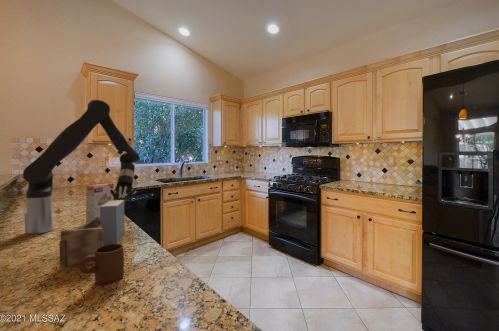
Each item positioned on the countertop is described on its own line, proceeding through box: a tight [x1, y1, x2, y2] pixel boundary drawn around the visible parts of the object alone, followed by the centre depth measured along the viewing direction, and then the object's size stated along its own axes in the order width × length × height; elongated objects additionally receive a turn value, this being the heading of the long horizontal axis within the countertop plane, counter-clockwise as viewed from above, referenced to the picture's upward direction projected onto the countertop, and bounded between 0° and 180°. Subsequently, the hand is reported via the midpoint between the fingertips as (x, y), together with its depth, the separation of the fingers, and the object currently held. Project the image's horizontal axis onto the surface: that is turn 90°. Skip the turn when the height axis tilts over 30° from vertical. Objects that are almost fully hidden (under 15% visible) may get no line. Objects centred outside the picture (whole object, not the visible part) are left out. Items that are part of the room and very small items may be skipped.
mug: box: [77, 243, 125, 285], centre depth 69 cm, size 12×8×9 cm, turn 149°
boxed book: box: [99, 199, 126, 245], centre depth 105 cm, size 6×14×16 cm, turn 16°
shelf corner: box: [58, 217, 104, 269], centre depth 93 cm, size 12×32×12 cm, turn 16°
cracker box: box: [85, 182, 115, 224], centre depth 133 cm, size 14×6×21 cm, turn 168°
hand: (120, 205), depth 117 cm, fingers closed
